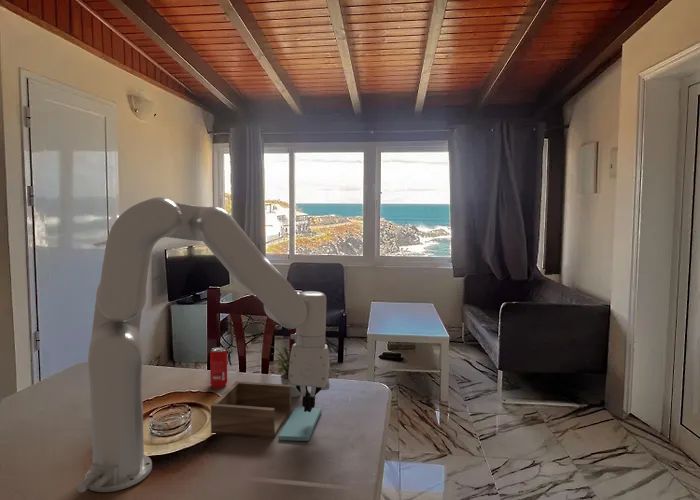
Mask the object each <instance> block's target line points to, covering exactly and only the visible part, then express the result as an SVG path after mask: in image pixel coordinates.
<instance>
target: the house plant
mask: <svg viewBox="0 0 700 500" xmlns="http://www.w3.org/2000/svg"><path fill="white" fill-rule="evenodd" d="M270 347H271V348H274V349H275V350H276V351H278V353H272V355H275V357H276V358H277V359H278V360H279V361H276V362H275V363H274V364H275V365H278V366H277V367H275V366H274V367H273V368H276V369H277V368H278V367H281V368H278V371H277V374H279V373H281V372H282V373H281V375H280V382H281V384H283V385H289V381H288V373H289V363H290V353H289V352H288V349H287V347H286V346H285V345H284V344H283V345H281V347H282V349H283V352H284V354H285V356H286V358H285V357H284V356H283V354H282V352H281V351H280V350H279V349H278V348H277V347H275V346H272V345H270ZM276 355H277V356H276ZM279 356H280V357H281V359H280V357H279ZM286 359H287V360H286ZM282 360H283V361H284V362H283V361H282ZM285 364H286V365H285ZM299 396H301V393H300V392H299V391H298V389H297V388H294V387H291V398H298V397H299Z"/></svg>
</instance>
